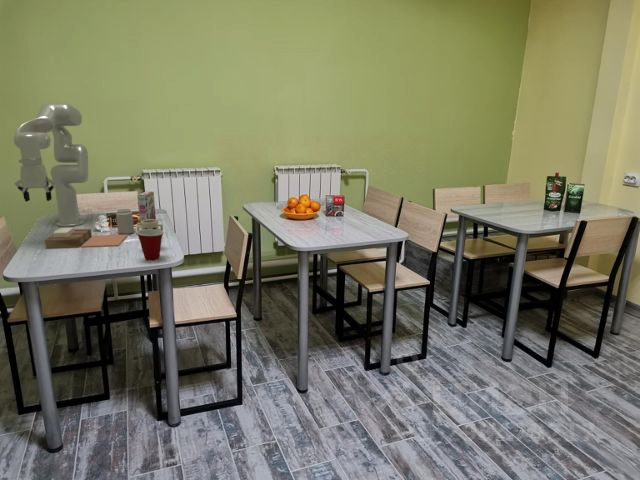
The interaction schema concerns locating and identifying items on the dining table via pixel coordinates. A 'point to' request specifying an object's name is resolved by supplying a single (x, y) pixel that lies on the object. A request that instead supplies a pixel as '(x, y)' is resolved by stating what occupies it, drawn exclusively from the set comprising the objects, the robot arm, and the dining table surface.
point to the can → (125, 221)
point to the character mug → (150, 224)
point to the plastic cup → (150, 243)
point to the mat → (105, 240)
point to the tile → (63, 232)
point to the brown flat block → (69, 239)
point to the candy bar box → (146, 206)
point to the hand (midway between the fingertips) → (38, 200)
